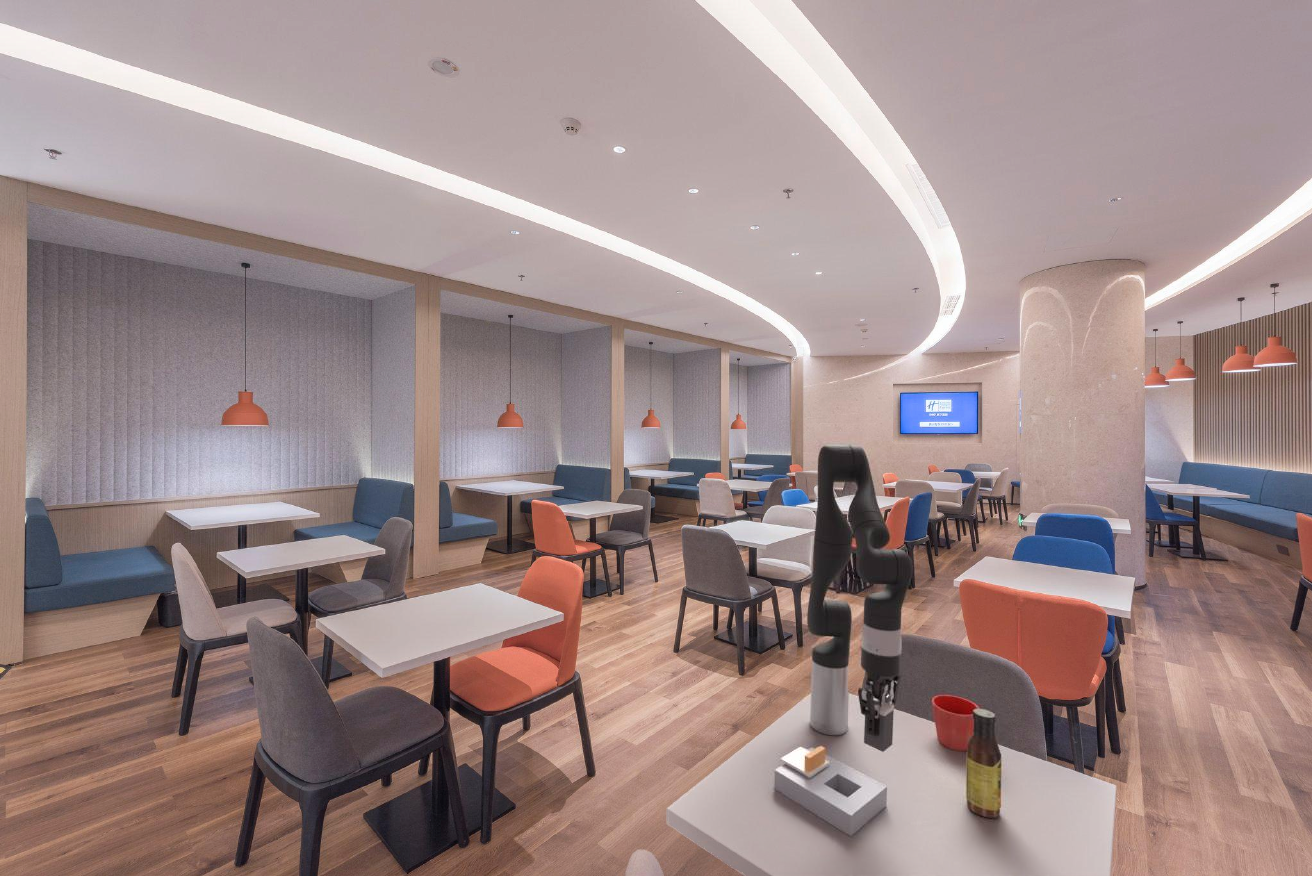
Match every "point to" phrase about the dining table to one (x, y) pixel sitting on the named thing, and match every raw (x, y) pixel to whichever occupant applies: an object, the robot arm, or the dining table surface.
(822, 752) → the shutter
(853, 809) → the socket block
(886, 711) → the plug
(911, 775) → the dining table surface
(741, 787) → the dining table surface
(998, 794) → the sauce bottle
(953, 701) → the flower pot
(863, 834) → the dining table surface
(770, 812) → the dining table surface
